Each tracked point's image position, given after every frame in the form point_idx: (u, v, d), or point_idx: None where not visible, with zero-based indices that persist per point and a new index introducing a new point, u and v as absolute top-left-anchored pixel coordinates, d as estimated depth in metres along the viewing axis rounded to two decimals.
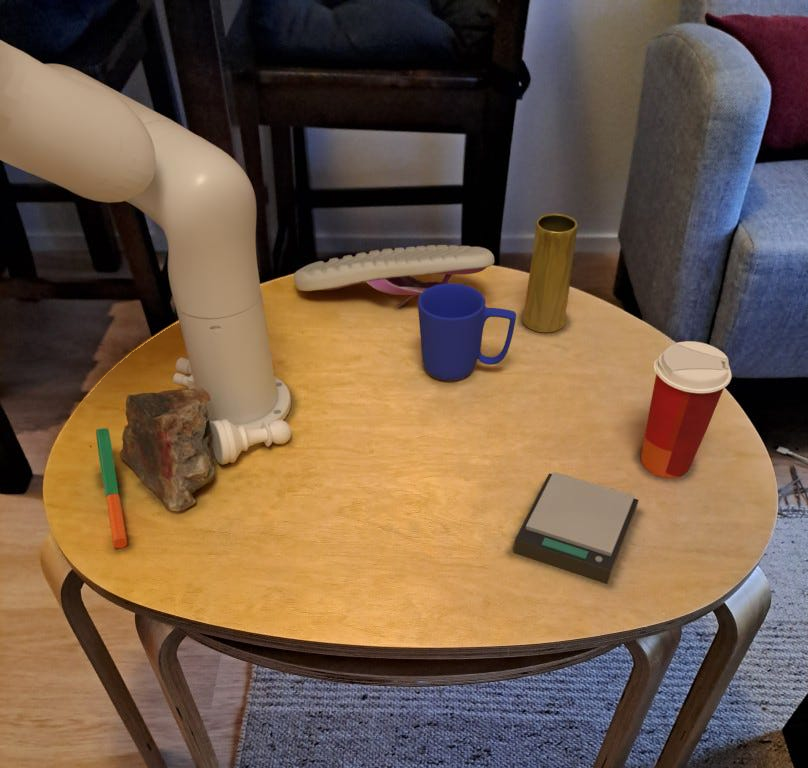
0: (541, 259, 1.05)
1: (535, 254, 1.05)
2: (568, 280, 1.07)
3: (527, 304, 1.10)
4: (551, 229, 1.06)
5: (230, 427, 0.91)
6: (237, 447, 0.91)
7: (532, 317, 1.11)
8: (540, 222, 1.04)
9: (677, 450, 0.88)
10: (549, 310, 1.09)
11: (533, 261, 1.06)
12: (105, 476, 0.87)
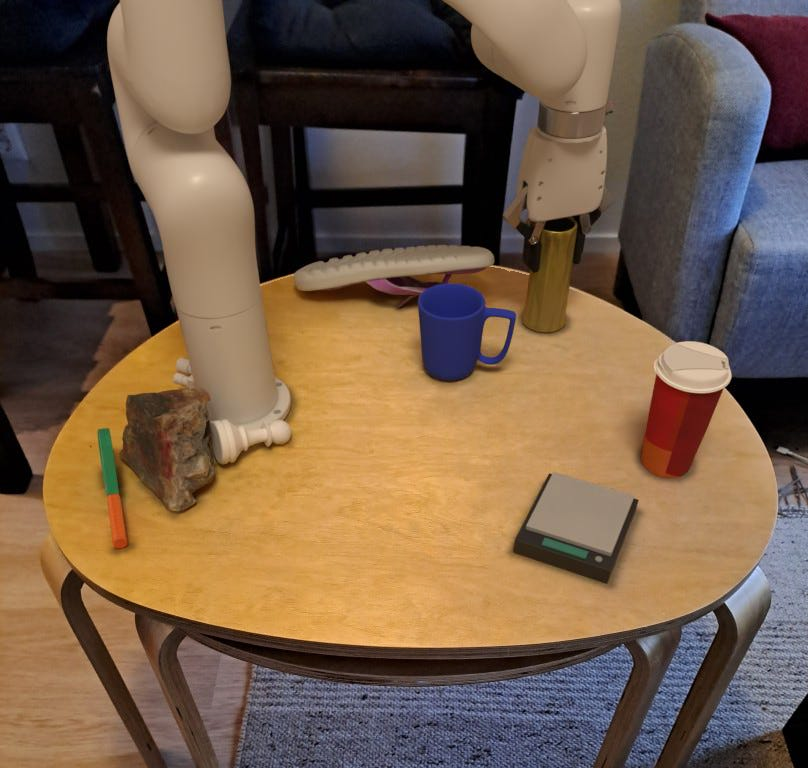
0: (541, 259, 1.05)
1: None
2: (568, 280, 1.07)
3: (527, 304, 1.10)
4: (551, 229, 1.06)
5: (230, 427, 0.91)
6: (237, 447, 0.91)
7: (532, 317, 1.11)
8: None
9: (677, 450, 0.88)
10: (549, 310, 1.09)
11: None
12: (106, 476, 0.87)
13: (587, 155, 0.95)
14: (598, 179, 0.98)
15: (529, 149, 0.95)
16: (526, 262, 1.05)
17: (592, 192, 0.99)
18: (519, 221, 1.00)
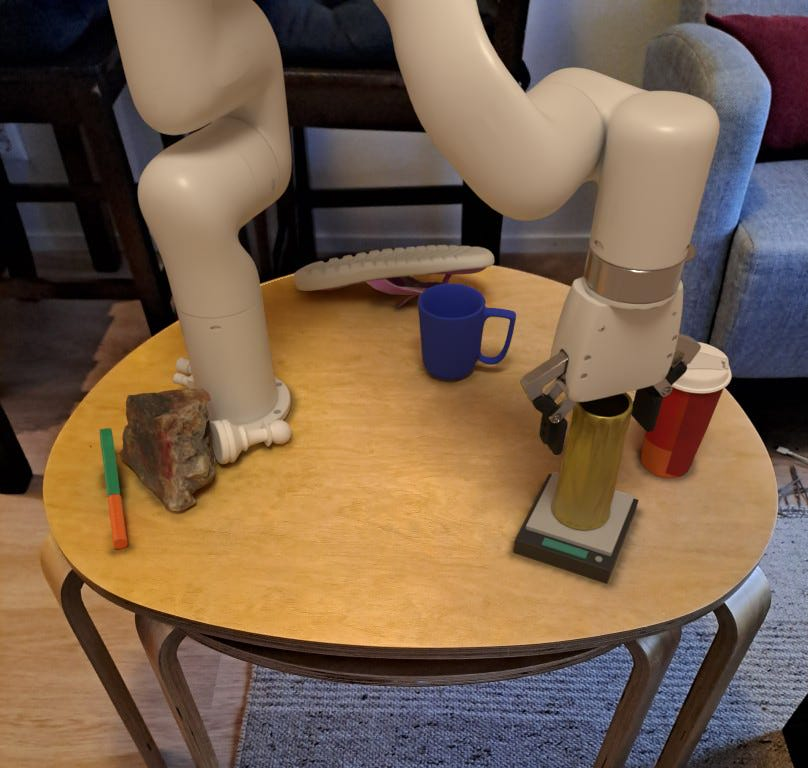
0: (581, 447, 0.76)
1: (573, 438, 0.76)
2: (617, 469, 0.79)
3: (559, 494, 0.82)
4: (594, 402, 0.77)
5: (230, 427, 0.91)
6: (237, 446, 0.91)
7: (566, 511, 0.82)
8: None
9: (677, 450, 0.88)
10: (590, 505, 0.80)
11: (569, 446, 0.78)
12: (107, 476, 0.87)
13: (655, 320, 0.66)
14: (667, 346, 0.69)
15: (571, 311, 0.66)
16: (545, 442, 0.75)
17: (658, 362, 0.70)
18: (540, 393, 0.70)
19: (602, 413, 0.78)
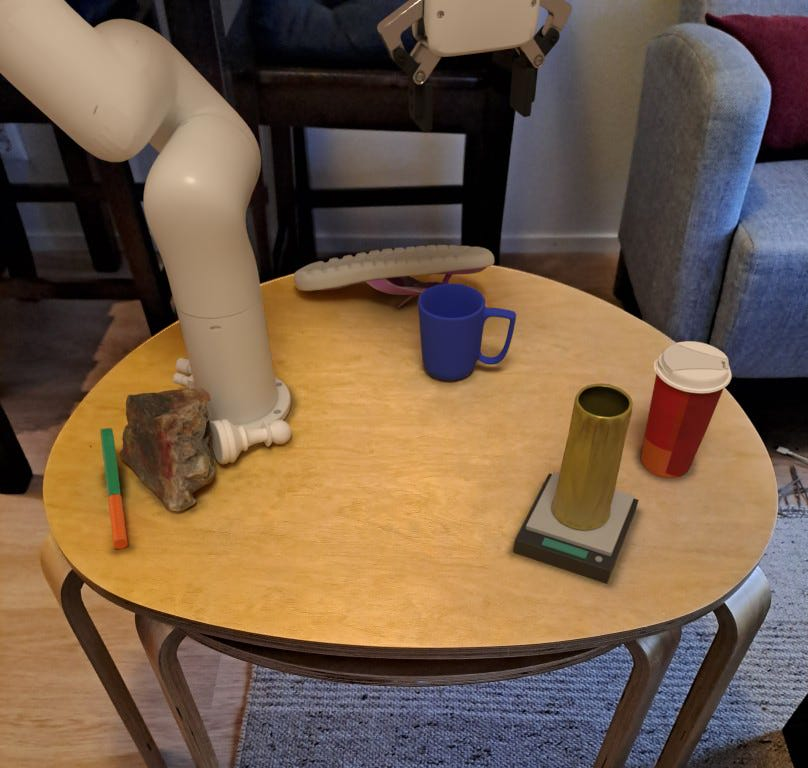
0: (581, 447, 0.76)
1: (573, 438, 0.76)
2: (617, 469, 0.79)
3: (559, 494, 0.82)
4: (594, 402, 0.77)
5: (230, 427, 0.91)
6: (237, 446, 0.91)
7: (566, 511, 0.82)
8: (580, 396, 0.76)
9: (677, 450, 0.88)
10: (590, 505, 0.80)
11: (569, 446, 0.78)
12: (108, 476, 0.87)
13: None
14: None
15: None
16: (413, 116, 0.72)
17: (521, 9, 0.67)
18: (399, 43, 0.67)
19: (602, 413, 0.78)
